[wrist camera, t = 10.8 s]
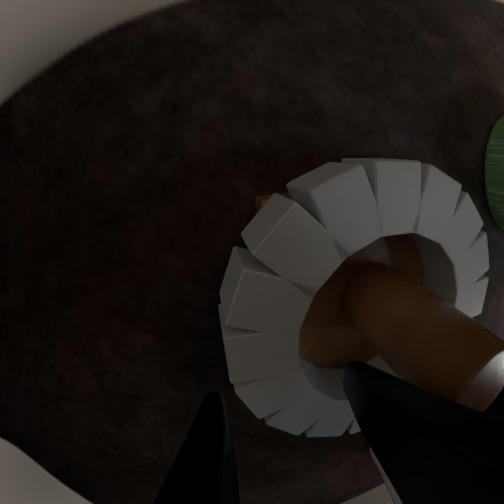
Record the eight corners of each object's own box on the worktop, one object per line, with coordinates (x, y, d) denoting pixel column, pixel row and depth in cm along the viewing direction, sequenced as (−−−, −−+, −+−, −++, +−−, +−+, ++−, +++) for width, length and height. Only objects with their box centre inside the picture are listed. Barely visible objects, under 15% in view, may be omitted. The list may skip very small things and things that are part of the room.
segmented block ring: (462, 161, 11) (499, 166, 9) (433, 367, 15) (455, 390, 13) (201, 168, 10) (202, 170, 8) (237, 423, 13) (244, 459, 11)
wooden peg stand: (431, 181, 13) (578, 219, 5) (416, 336, 16) (508, 423, 8) (253, 195, 12) (365, 273, 4) (271, 377, 15) (325, 522, 7)
